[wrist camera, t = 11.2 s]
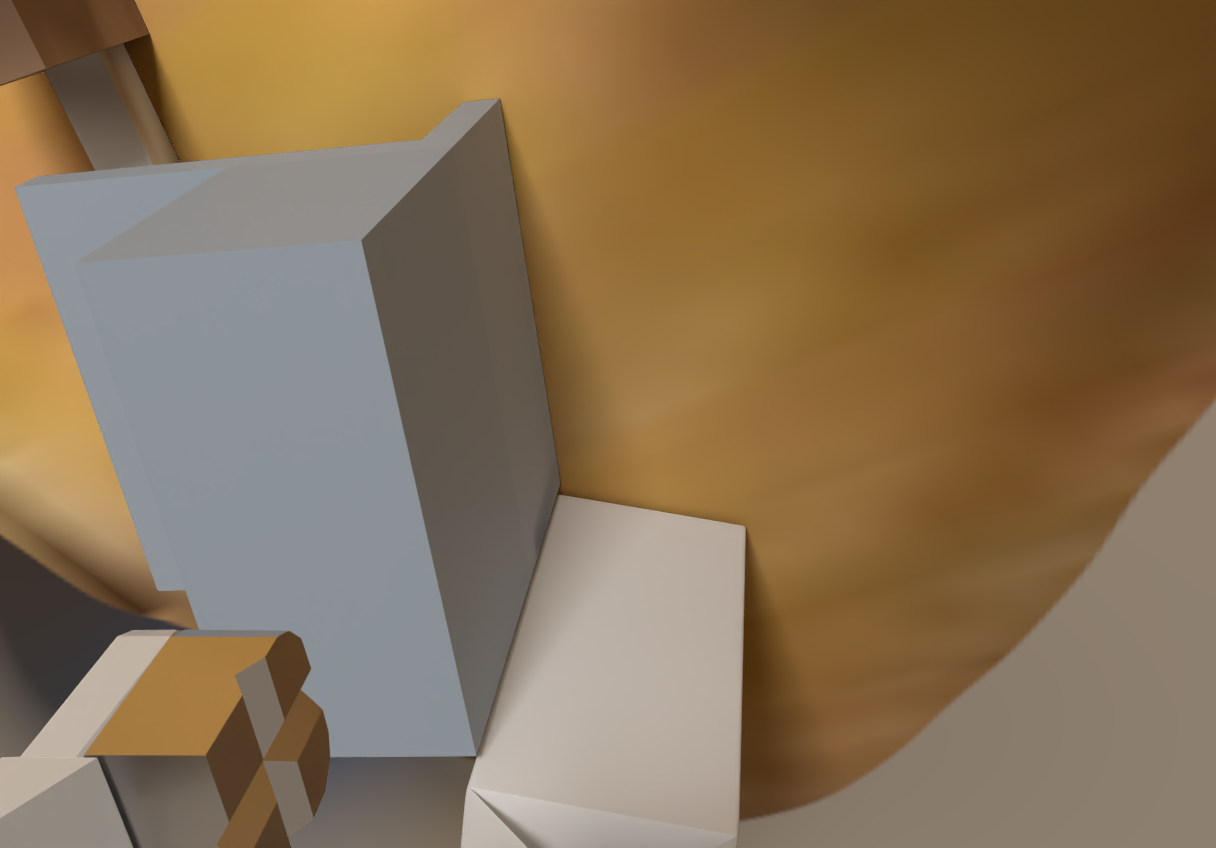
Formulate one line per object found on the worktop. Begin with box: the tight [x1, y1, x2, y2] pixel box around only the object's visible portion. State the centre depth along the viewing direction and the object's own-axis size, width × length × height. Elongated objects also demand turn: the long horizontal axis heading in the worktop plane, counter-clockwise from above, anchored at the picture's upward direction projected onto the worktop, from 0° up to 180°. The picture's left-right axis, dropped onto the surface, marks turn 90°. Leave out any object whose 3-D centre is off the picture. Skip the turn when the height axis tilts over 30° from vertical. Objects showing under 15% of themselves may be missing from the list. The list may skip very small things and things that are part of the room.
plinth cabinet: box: [14, 99, 561, 757], centre depth 34 cm, size 14×13×14 cm
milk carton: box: [461, 495, 746, 848], centre depth 36 cm, size 7×7×19 cm
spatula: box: [0, 0, 180, 171], centre depth 36 cm, size 17×4×6 cm, turn 18°
